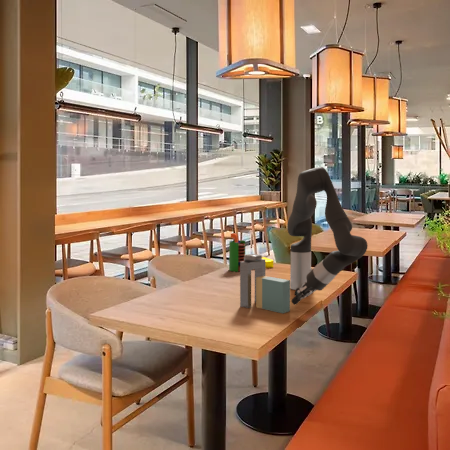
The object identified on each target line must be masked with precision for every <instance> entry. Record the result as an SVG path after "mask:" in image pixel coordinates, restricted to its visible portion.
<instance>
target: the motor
mask: <svg viewBox="0 0 450 450" xmlns="http://www.w3.org/2000/svg"><path fill="white" fill-rule="evenodd" d="M230 238H234V240H230V241H229V247H228V250H229V252H228V253H229V255H228V258H229V259H228V260H229V261H228V270H229V271H230V272H235V273H236V272H237V273H238V272H240V262H242V261H244V255H246V240H243V239H242V240H239V238H238V234H237V233H230Z"/></svg>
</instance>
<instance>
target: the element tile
mask: <svg viewBox="0 0 450 450" xmlns="http://www.w3.org/2000/svg"><path fill="white" fill-rule="evenodd" d="M262 259H265V269H271V268H274V264H275V263H274V259H272V258H268V257H265V256H262Z"/></svg>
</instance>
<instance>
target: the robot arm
mask: <svg viewBox="0 0 450 450" xmlns="http://www.w3.org/2000/svg"><path fill="white" fill-rule="evenodd" d="M296 185H297V186H296V193H295V198H294V201H293V204H292V205H293V206H292V210H291V213H290V216H289V217H288V219H287V220H288V221H287V226H286V227H287V228H286V229H287V233H288V235H289V236H291V237H303V238H302V239H301V240H299V241H298V242H295V243H292V244H291V245H290V268H289V269H290V273H289V274H290V275H289V276H290V279H289V280H290V290H295V291H294V296H293V298H291V299H290V302H291V303H292V304H293V305H295V306H296V305H298V304H299V303H300V302H301V301H302V300H303V299H305V298H307V297H309V296H311V295H312V294H313V293H314V292H316V291H323V290H324V288H326V287H327V286H328V285H329V284H330V283H331V282H332V281H333V280H334V279H335V277H336V276H337V275H338V274H339V273H340V272H341V271H342V270H344V269H345V268H346V267H348V266H350V265H351V264H353V263H354V262H356V261H357V260H359V259H361V258H362V257H363V256H364V255H365V254H366V252H367V250H368V247H369V246H368V242H367V240H366V239H365V238H364V237H362V236H359V235H353V234H352V233H351V232H352V230H353V225H352V222H351V221H350V218H349V217H348V215H347V214H346V211H345V210H344V209H343V206H342V204H341V202H340V199H339V197H338V194H337V192H336V188H335V186H334V183H333V181H332V179H331V177H330V174H329V173H328V171H327V170H326V168H324V167H323V166H317V167H313V168H310V169H306V170H303V171H300V173H299V174H298V177H297V184H296ZM321 192H325V195H326V202H325V208H324V217H325V220H326V222H327V225H328V226H329V228H330V229H331V231H332V234H333V238H334V242H335V246H336V249H337V250H332V251H331V252H330V253H329V254H328V255H326V256H325V257H324V259H322V260H321V261H320V262H318V263H317V264H316V265H315V266H314V267H313V268H312V235H313V219H312V217H313V215H314V214H315V212H316V210H317V209H316V208H317V204H318V202H317V199H316V197H315V195H314V194H319V193H321Z"/></svg>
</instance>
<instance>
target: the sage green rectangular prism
mask: <svg viewBox="0 0 450 450" xmlns="http://www.w3.org/2000/svg"><path fill="white" fill-rule="evenodd" d="M255 308H257V309H262V310H267V311H271V312H275V313H280V314H285V313H288V312H291V288H290V279H285V278H280V277H279V278H278V277H274V276H273V277H272V276H267V275H265V276H260V277H256V302H255Z"/></svg>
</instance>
